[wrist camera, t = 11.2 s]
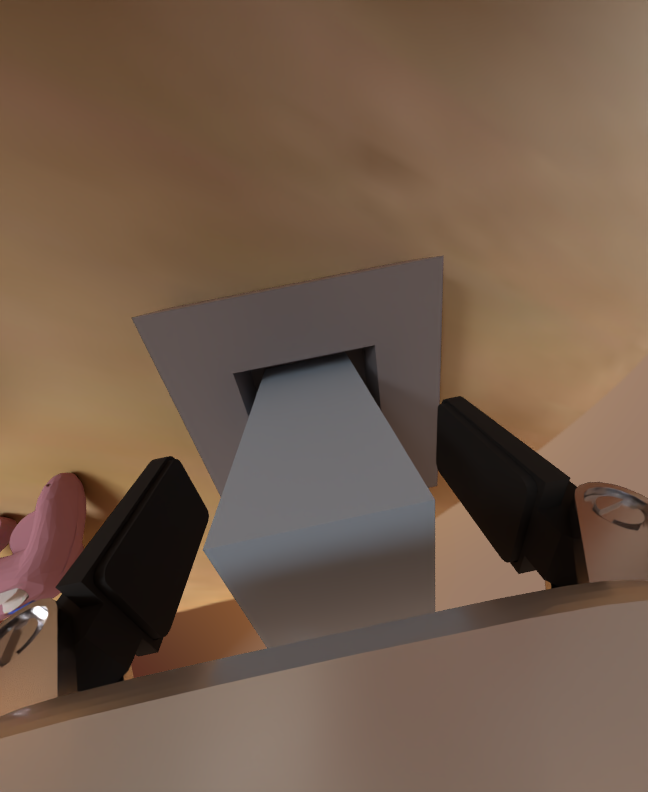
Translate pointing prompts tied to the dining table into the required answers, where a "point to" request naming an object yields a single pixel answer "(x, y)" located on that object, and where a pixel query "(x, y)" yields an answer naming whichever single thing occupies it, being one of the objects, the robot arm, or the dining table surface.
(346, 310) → the socket
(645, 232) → the dining table surface
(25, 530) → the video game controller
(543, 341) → the dining table surface
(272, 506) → the plug
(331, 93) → the dining table surface
